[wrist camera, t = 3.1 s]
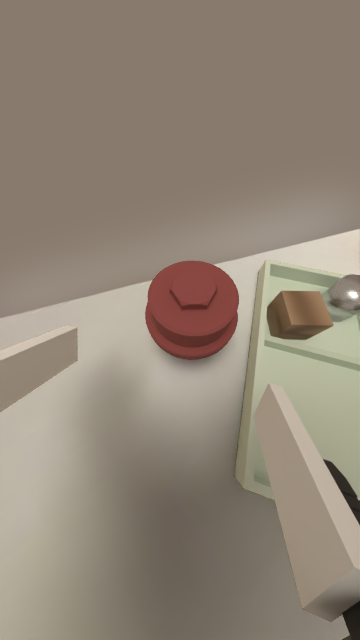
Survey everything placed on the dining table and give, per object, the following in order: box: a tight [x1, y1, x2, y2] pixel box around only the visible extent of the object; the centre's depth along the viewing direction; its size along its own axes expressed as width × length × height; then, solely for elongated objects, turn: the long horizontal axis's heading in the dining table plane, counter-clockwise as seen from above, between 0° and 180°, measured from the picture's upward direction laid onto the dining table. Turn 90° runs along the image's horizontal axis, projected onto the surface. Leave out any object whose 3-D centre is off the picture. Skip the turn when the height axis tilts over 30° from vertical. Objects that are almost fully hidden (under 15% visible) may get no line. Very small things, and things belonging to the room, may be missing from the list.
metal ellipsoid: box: [321, 275, 360, 322], centre depth 24 cm, size 5×5×5 cm
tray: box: [234, 260, 360, 501], centre depth 22 cm, size 16×30×3 cm, turn 163°
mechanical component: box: [145, 261, 239, 359], centre depth 20 cm, size 12×10×10 cm
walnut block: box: [266, 291, 334, 340], centre depth 23 cm, size 5×5×5 cm
